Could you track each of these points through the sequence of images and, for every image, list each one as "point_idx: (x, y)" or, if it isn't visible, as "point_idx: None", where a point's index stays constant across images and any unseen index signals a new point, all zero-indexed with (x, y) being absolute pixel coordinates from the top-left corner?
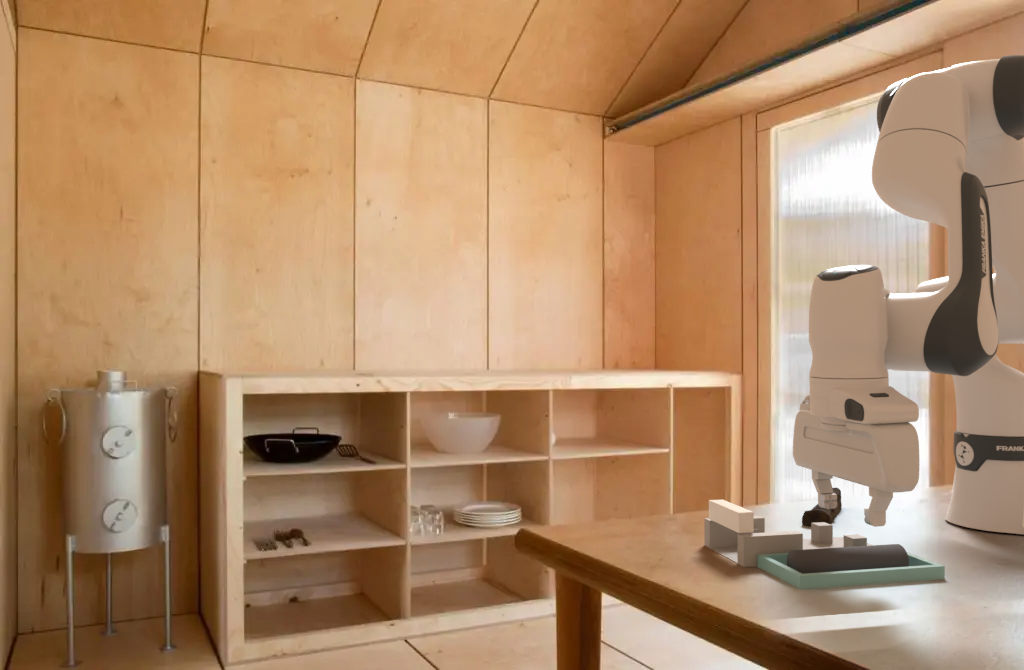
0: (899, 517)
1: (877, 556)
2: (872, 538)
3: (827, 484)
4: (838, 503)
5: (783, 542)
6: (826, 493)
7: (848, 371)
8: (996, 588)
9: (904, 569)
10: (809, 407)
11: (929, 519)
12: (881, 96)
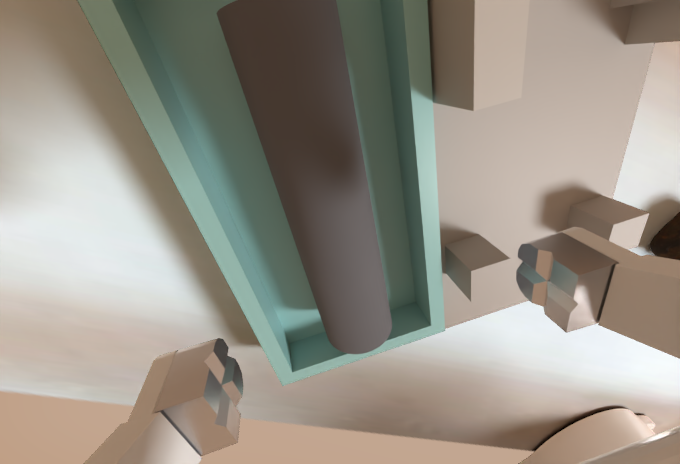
0: (665, 365)
1: (315, 287)
2: None
3: (670, 333)
4: None
5: (454, 10)
6: (605, 292)
7: None
8: (290, 406)
9: (248, 317)
10: None
11: (635, 392)
12: None
